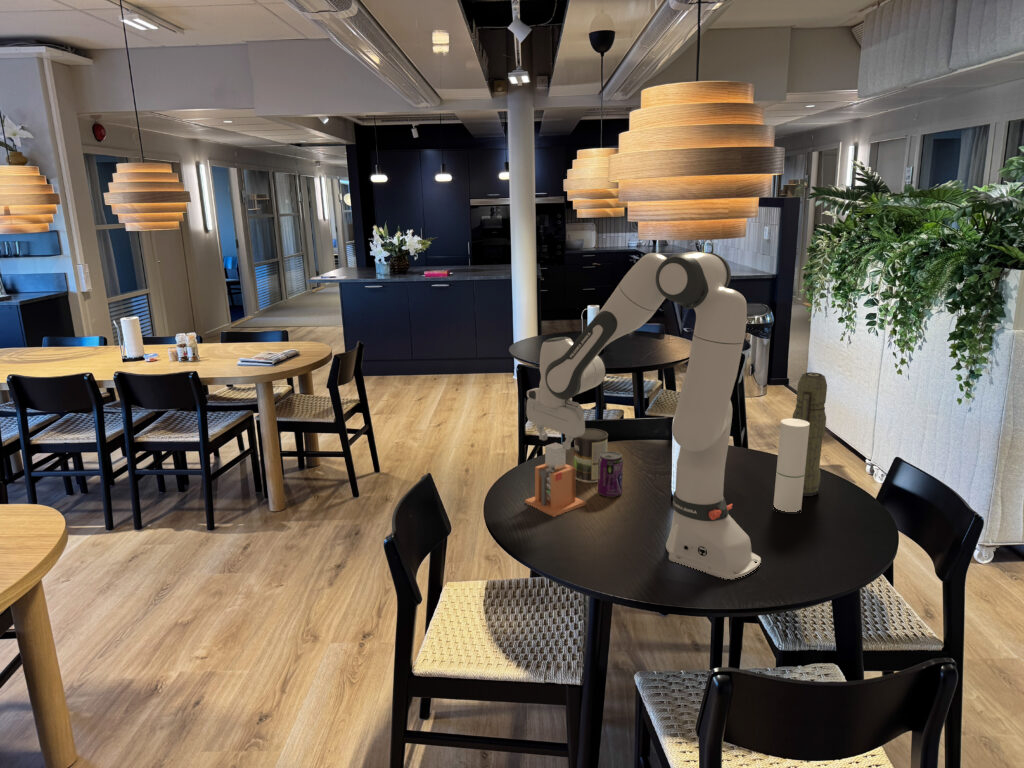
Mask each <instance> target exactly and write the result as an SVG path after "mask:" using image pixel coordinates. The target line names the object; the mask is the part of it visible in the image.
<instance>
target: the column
mask: <svg viewBox="0 0 1024 768" xmlns="http://www.w3.org/2000/svg"><path fill="white" fill-rule="evenodd" d="M562 446H563V445H562V444H561V443H558V442H553V443H550V444H547V445H545V446H544V449H545V450H544V461H545V462H544V464H545V470H546V471H548V472H549V477H548V478H547V500H548V501H550V502H551V473H554V472H557V471H560V470H563V469H566V464H567V463H566V461H567V460H566V459H567V458H566V457H567V454H566V453H567V452H566V449H564V448H562Z"/></svg>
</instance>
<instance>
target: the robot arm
mask: <svg viewBox="0 0 1024 768" xmlns="http://www.w3.org/2000/svg"><path fill="white" fill-rule="evenodd" d="M731 276H732V271H731V267H730V265H729V263H728V261H727V260H726V259H725V258H724V257H723V256H721V255H720V254H717V253H714V252H707V251H706V252H700V251H688V252H684V253H675V254H673V255H671V256H665V255H663V254H661V253H658V252H657V253H656V252H650V253H649V252H648V253H647V254H646V253H645V255H643V256H641V258H640V259H638V261H637V262H636V263H635V264H634V265H632V266H631V268H630V269H629V270H628V271H627V272H626V274H625V275H624V276H623V278H622V279H621V280H620V282H619V283H618V284H617V286H616V288H615V289H614V291H613V292H612V293H611V295H610V297H608V299H607V300H606V302H605V303H604V305H603V306H602V308H601V309H599V311H598V312H597V314H596V315H595V316H594V318H593V319H592V320H591V321H590V323H589V324H587V326H586V327H585V329H584V330H583V331H582V332H581V333H580V335H579V336H578V337H577V338H576V339H575V341H573V340H572V339H571V338H570V337H568V336H559V337H558V336H556V337H553V338H548V339H546V340H544V341H543V342H542V345H541V348H540V354H539V355H540V356H539V372H540V380H539V386H538V387H534V388H532V389H529V390H527V391H526V396H527V400H526V418H527V421H528V422H532V423H534V424H536V429H537V431H538V439H539V440H540V441H544V442H545V441H547V440H548V433H547V432H546V429H545V428H548V429H550V430H551V431H555V432H557V433H558V432H559V433H561V434H563V435H564V438H565V441H562V444H561V445H563V446H562V448H564V449H566V450H567V451H568V450H570V449H571V447H572V445H571V444H572V442H573V440H574V438H576V437H580V436H582V435H583V434H584V433H585V429H586V421H585V414H584V409H583V407H582V406H581V405H580V403H579V402H577V401H573V397H575V396H577V395H579V394H582V393H584V392H587V391H589V390H591V389H594V388H596V387H598V386H599V385H601V384H602V383H604V382H603V381H604V380H605V377H606V371H607V370H606V366H605V363H604V361H603V359H602V357H600V356H599V354H600V353H601V352H602V350H603V349H604V348H605V347H607V346H608V345H609V344H610V343H612V342H614V341H615V340H617V339H619V338H621V337H624V336H626V335H627V334H630V333H632V332H634V331H635V332H636V330H638V329H640V328H641V327H643V325H645V324H646V323H647V322H648V321H650V319H651V318H652V317H653V316H654V314H655V313H656V312H657V310H658V309H659V308H660V306H661V305H662V303H664V301H665V300H666V299H667V300H669V301H671V302H673V303H675V304H678V305H679V306H681V307H683V308H684V309H687V310H692V309H694V312H695V323H694V330H693V335H692V340H691V345H690V352H689V359H688V362H687V368H686V372H685V375H684V378H683V381H682V386H681V389H680V393H679V397H678V400H677V404H676V409H675V413H674V416H673V420H672V425H671V432H672V436H673V439H674V441H675V442H676V443H677V444H678V446H680V447H679V452H678V457H677V460H676V470H675V471H676V472H675V474H676V475H675V490H674V492H673V494H672V495H673V497H672V508H673V516H672V521H671V528H670V531H669V535H668V538H667V540H666V543H665V548H666V550H667V552H668V560H669V561H670V562H673V563H675V562H676V564H678V563H679V565H681V564H682V566H684V565H685V566H684V567H687V566H688V568H690V567H691V569H693V568H694V570H696V569H697V570H696V571H699V570H700V572H702V571H703V572H702V573H705V572H706V574H709V575H711V576H714V577H717V578H720V577H721V578H720V579H723V578H724V579H723V580H727V579H730V580H736V579H735V578H738V577H741V578H743V577H742V576H744V577H746V576H745V575H747V574H749V573H750V572H752V571H753V570H755V569H756V568H757V567H758V566H759V565H760V563H761V564H762V558H761V556H759V555H758V554H756V553H754V552H752V543H751V538H750V536H749V535H748V534H747V533H746V532H745V531H744V530H743V528H742V527H740V525H739V524H738V523H737V522H736V521H735V519H734V518H733V517H731V515H730V514H729V510H731V509H732V508H733V503H730V504H728V505H727V502H726V499H725V497H724V483H725V473H726V471H725V470H726V463H727V455H728V450H729V443H730V436H731V427H732V419H733V404H732V401H731V397H732V395H733V390H734V387H735V383H736V380H737V377H738V373H739V368H740V367H739V366H740V362H741V357H742V352H743V348H744V344H745V343H744V342H745V337H746V329H747V319H748V318H747V316H748V315H747V314H748V309H747V307H748V306H747V305H748V304H747V300H746V298H745V297H744V295H743V294H742V293H740V292H739V291H737V290H735V289H733V288H728V286H729V284H730V281H731ZM755 562H757V563H755ZM760 566H761V565H760ZM760 566H759V567H760ZM755 571H756V570H755ZM752 573H753V572H752ZM749 575H750V574H749ZM747 576H748V575H747ZM738 579H739V578H738Z"/></svg>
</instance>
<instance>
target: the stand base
mask: <svg viewBox="0 0 1024 768" xmlns="http://www.w3.org/2000/svg"><path fill="white" fill-rule="evenodd" d="M548 477H549V472H548V471H546V470H545V463H543V464H539V465H537V466H535V467H534V495H535V496H532V497H530V498H527V499H525V500H524V503H525V504H526V503H527V504H526V505H528V504H529V505H528V506H530V505H531V507H532V506H533V507H532V508H534V507H535V509H536V508H537V509H536V510H539V511H540V512H543V513H545V514H547V515H549V516H552V517H553V518H554V517H557V515H558V516H560V515H563V514H565V512H566V513H568V512H571V511H574V510H576V509H579V508H581V507H583V506H586V501H585V500H583V499H580V498H578V497H576V488H577V487H576V485H577V484H576V483H577V482H576V468H575V467H574V466H572V465H569V464H567V463H566V469H563V470H560V471H557V472H554V473H551V502H550V501H548V500H547V478H548Z"/></svg>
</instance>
